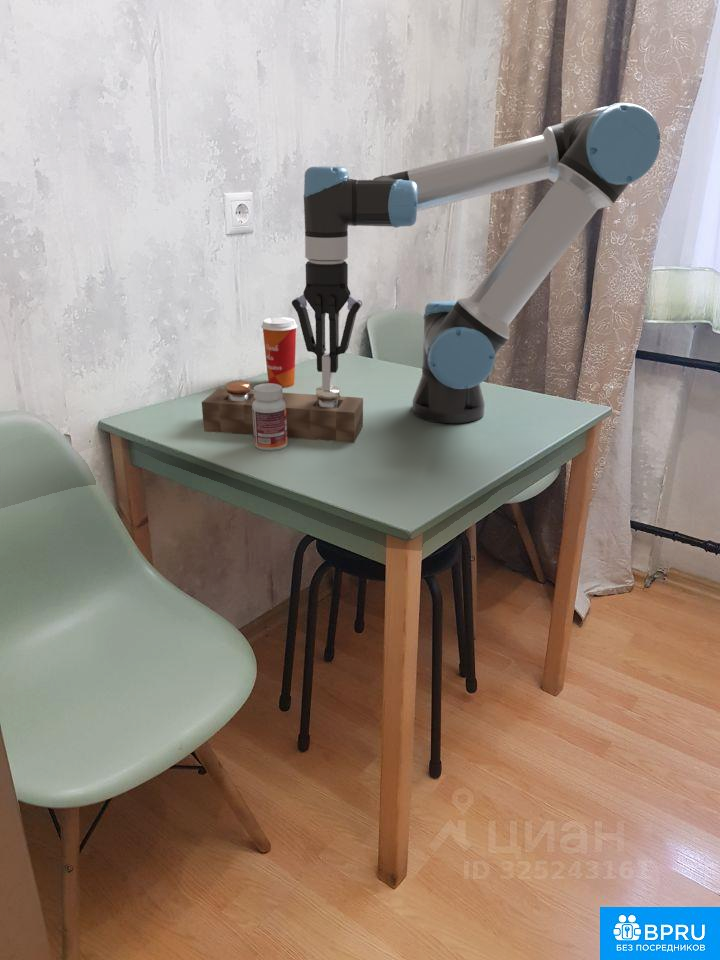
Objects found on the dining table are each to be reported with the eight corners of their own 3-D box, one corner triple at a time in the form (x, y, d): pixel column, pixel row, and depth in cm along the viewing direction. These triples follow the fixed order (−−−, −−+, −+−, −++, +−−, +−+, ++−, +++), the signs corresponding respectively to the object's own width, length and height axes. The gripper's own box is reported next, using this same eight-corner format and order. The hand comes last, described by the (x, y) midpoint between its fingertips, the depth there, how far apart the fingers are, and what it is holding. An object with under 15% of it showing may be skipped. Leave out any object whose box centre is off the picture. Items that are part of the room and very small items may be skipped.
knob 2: (342, 420, 145) (342, 386, 142) (337, 428, 141) (337, 393, 138) (319, 419, 146) (319, 385, 143) (314, 427, 142) (313, 392, 139)
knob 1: (255, 414, 148) (253, 381, 145) (247, 422, 144) (245, 387, 141) (233, 413, 149) (231, 379, 146) (225, 420, 145) (222, 386, 142)
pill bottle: (293, 447, 137) (291, 388, 132) (263, 454, 134) (260, 394, 129) (277, 437, 142) (275, 380, 137) (248, 443, 139) (245, 385, 134)
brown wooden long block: (362, 426, 147) (363, 397, 145) (354, 442, 139) (354, 412, 137) (220, 416, 152) (218, 388, 150) (204, 431, 144) (201, 402, 142)
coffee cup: (259, 381, 175) (256, 318, 169) (292, 377, 178) (290, 315, 172) (270, 391, 168) (267, 325, 162) (304, 387, 171) (302, 322, 165)
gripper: (366, 259, 133) (364, 384, 143) (296, 256, 135) (299, 380, 145) (358, 265, 127) (357, 396, 136) (285, 262, 129) (289, 391, 138)
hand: (327, 388), depth 141 cm, fingers closed
